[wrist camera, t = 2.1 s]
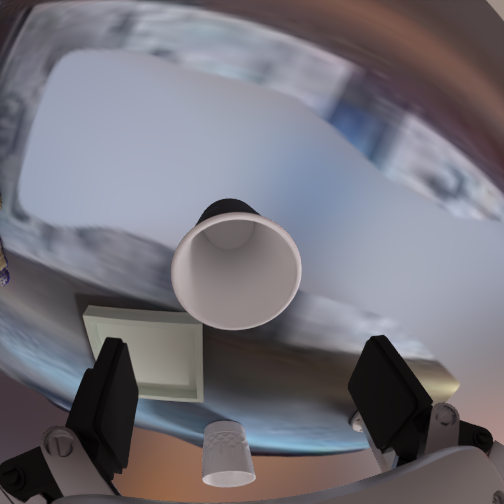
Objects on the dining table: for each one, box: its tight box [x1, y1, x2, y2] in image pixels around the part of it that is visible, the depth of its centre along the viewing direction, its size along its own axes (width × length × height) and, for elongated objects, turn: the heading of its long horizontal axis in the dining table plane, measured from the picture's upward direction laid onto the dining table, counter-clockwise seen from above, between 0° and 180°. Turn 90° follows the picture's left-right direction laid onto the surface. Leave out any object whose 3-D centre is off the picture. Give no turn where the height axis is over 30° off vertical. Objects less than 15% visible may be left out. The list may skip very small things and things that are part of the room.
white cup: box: [202, 421, 256, 487], centre depth 35 cm, size 8×8×10 cm
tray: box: [83, 305, 204, 402], centre depth 31 cm, size 14×14×2 cm
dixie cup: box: [171, 199, 302, 330], centre depth 22 cm, size 8×8×11 cm
